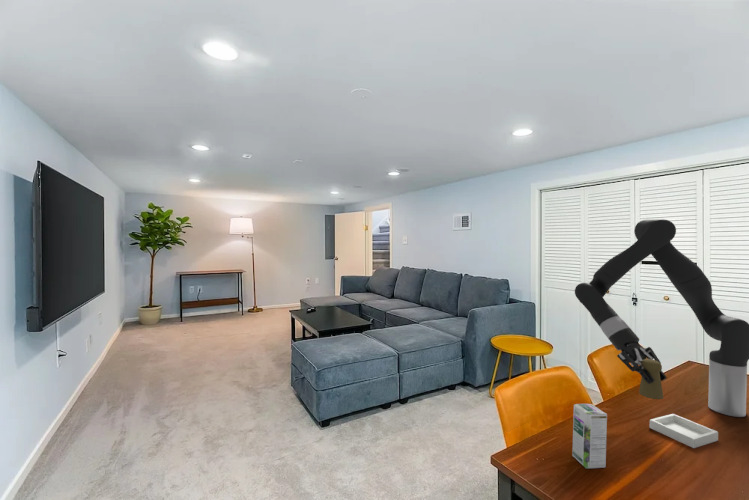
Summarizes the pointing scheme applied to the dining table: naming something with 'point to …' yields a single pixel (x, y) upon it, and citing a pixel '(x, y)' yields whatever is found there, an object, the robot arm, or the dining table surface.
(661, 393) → the cork
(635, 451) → the dining table surface
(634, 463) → the dining table surface
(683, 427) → the keeper tray
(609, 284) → the robot arm
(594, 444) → the syrup box
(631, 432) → the dining table surface
